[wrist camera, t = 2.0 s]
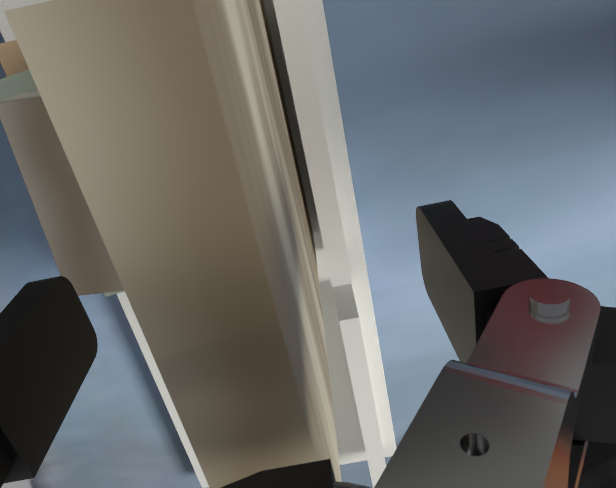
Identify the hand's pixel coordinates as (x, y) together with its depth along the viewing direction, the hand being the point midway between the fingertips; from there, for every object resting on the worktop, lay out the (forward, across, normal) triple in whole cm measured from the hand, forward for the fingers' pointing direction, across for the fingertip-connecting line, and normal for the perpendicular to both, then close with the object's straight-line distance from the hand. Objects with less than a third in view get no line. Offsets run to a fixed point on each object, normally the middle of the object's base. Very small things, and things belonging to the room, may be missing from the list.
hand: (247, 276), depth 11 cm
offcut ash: (+10, +7, 0) cm, 12 cm away
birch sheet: (+14, 0, 0) cm, 14 cm away
